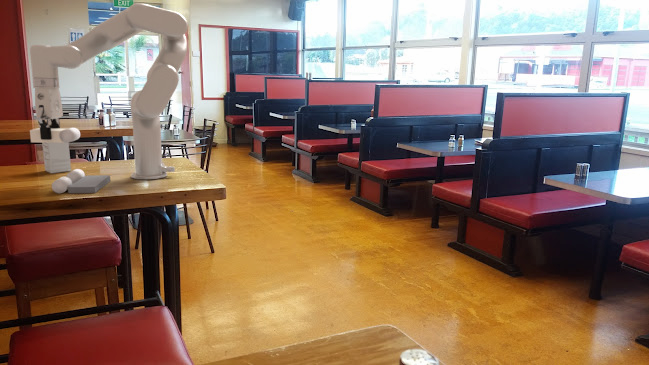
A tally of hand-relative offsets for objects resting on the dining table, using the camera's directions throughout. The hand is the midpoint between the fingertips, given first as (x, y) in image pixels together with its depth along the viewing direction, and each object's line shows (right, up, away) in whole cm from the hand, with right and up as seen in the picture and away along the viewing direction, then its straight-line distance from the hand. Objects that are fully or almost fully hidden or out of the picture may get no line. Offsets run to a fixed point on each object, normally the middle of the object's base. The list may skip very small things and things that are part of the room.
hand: (51, 137), depth 165 cm
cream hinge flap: (+2, -1, 0) cm, 2 cm away
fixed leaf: (+11, -16, 0) cm, 20 cm away
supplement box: (-11, -11, +24) cm, 28 cm away
